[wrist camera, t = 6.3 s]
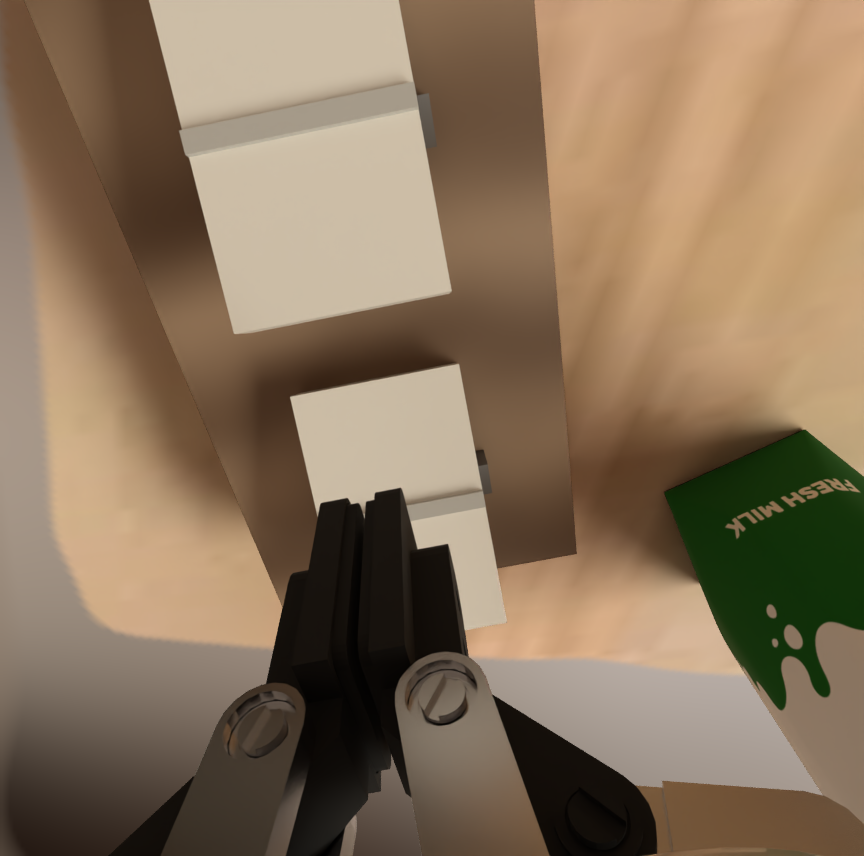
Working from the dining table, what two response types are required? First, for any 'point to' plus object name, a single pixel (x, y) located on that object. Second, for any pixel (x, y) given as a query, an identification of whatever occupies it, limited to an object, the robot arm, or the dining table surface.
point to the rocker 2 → (408, 467)
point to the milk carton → (790, 594)
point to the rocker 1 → (305, 155)
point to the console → (366, 330)
